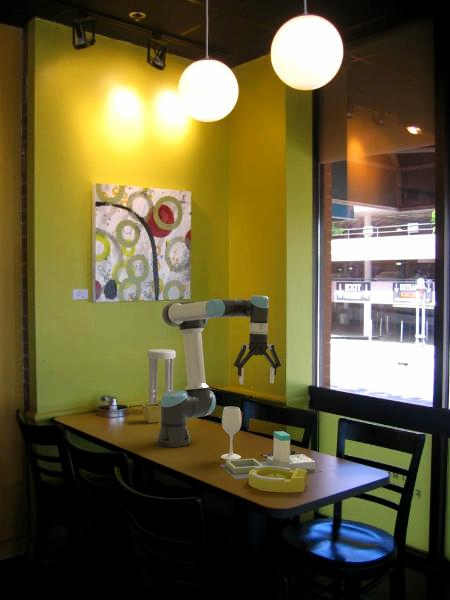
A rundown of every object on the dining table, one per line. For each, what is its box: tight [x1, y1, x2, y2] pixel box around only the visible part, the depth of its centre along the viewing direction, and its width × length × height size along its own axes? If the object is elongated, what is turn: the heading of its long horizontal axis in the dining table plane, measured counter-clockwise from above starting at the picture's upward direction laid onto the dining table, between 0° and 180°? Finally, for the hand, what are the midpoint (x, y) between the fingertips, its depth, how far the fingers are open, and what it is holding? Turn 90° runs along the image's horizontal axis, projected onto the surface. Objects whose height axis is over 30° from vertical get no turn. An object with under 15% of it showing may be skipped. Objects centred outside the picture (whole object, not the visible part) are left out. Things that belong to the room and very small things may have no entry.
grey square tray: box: [225, 458, 263, 474], centre depth 246 cm, size 12×11×2 cm
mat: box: [219, 460, 323, 480], centre depth 246 cm, size 36×19×1 cm, turn 108°
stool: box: [146, 348, 177, 404], centre depth 351 cm, size 16×16×35 cm
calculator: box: [260, 449, 296, 459], centre depth 264 cm, size 9×12×3 cm
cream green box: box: [272, 430, 291, 464], centre depth 246 cm, size 4×7×14 cm, turn 18°
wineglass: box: [220, 406, 242, 460], centre depth 262 cm, size 9×9×21 cm
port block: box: [266, 453, 316, 471], centre depth 247 cm, size 16×11×4 cm
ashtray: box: [248, 465, 308, 493], centre depth 227 cm, size 16×21×5 cm
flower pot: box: [141, 402, 161, 424], centre depth 326 cm, size 9×9×9 cm
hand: (256, 383), depth 260 cm, fingers open, 13 cm apart
